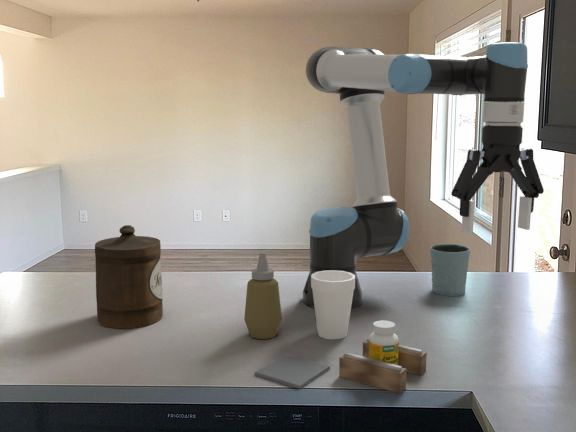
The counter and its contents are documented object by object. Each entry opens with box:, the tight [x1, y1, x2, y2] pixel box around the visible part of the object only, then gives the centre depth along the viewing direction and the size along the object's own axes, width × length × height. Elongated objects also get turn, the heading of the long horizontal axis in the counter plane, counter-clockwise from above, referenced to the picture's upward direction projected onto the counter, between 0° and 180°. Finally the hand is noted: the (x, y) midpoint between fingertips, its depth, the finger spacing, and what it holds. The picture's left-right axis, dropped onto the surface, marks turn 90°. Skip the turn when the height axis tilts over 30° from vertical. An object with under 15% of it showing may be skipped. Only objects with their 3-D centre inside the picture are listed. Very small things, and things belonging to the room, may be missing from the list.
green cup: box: [429, 243, 471, 297], centre depth 162 cm, size 10×10×12 cm
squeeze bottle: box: [243, 252, 283, 340], centre depth 130 cm, size 8×8×18 cm
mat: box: [254, 353, 331, 389], centre depth 113 cm, size 10×10×1 cm
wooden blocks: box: [338, 337, 428, 394], centre depth 112 cm, size 12×11×4 cm
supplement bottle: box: [368, 319, 400, 365], centre depth 112 cm, size 5×5×10 cm
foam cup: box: [311, 270, 355, 340], centre depth 131 cm, size 10×9×13 cm
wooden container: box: [94, 224, 164, 330], centre depth 141 cm, size 15×15×22 cm
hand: (495, 230), depth 124 cm, fingers open, 13 cm apart
